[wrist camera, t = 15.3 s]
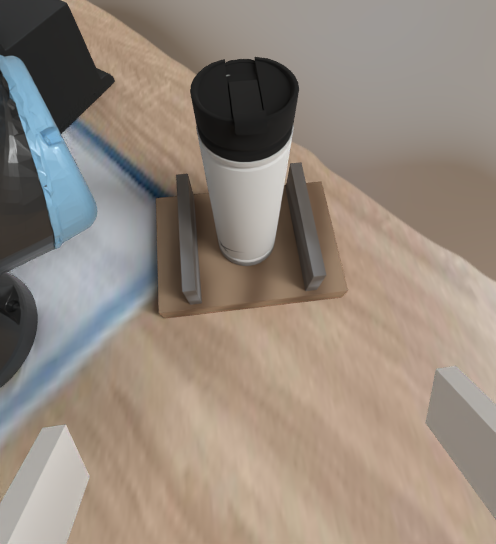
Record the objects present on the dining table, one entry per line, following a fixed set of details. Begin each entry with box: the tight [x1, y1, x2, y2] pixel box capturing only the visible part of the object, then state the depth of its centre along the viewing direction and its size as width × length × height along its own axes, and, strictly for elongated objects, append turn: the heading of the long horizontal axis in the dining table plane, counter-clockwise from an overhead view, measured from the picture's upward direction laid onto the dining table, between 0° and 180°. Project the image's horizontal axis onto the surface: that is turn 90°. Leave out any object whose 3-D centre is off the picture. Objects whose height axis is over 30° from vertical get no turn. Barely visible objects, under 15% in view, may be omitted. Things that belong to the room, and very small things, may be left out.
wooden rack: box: [156, 163, 348, 318], centre depth 35 cm, size 20×14×7 cm
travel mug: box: [190, 57, 299, 266], centre depth 27 cm, size 6×7×20 cm
